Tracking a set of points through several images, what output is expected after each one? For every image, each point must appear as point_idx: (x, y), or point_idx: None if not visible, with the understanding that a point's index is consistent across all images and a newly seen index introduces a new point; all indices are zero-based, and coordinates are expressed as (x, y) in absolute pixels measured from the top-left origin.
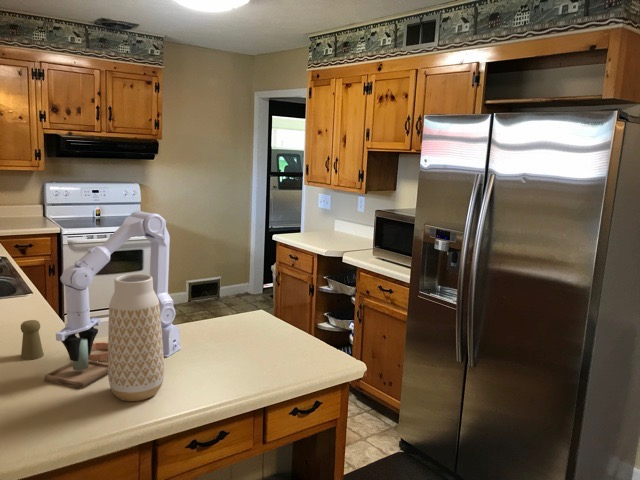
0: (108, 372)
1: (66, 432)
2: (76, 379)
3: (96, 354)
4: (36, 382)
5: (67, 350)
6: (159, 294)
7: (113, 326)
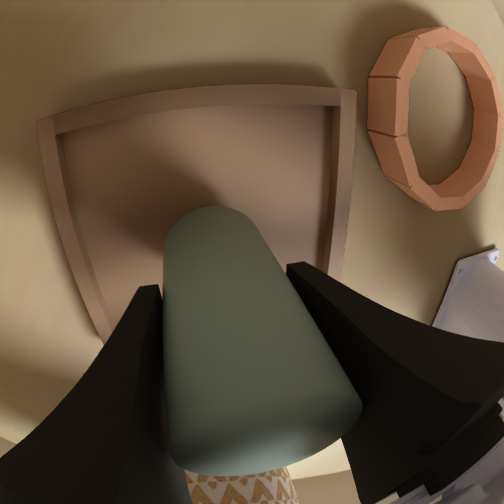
0: None
1: (9, 425)
2: (131, 289)
3: (407, 175)
4: (21, 103)
5: (103, 354)
6: None
7: None
